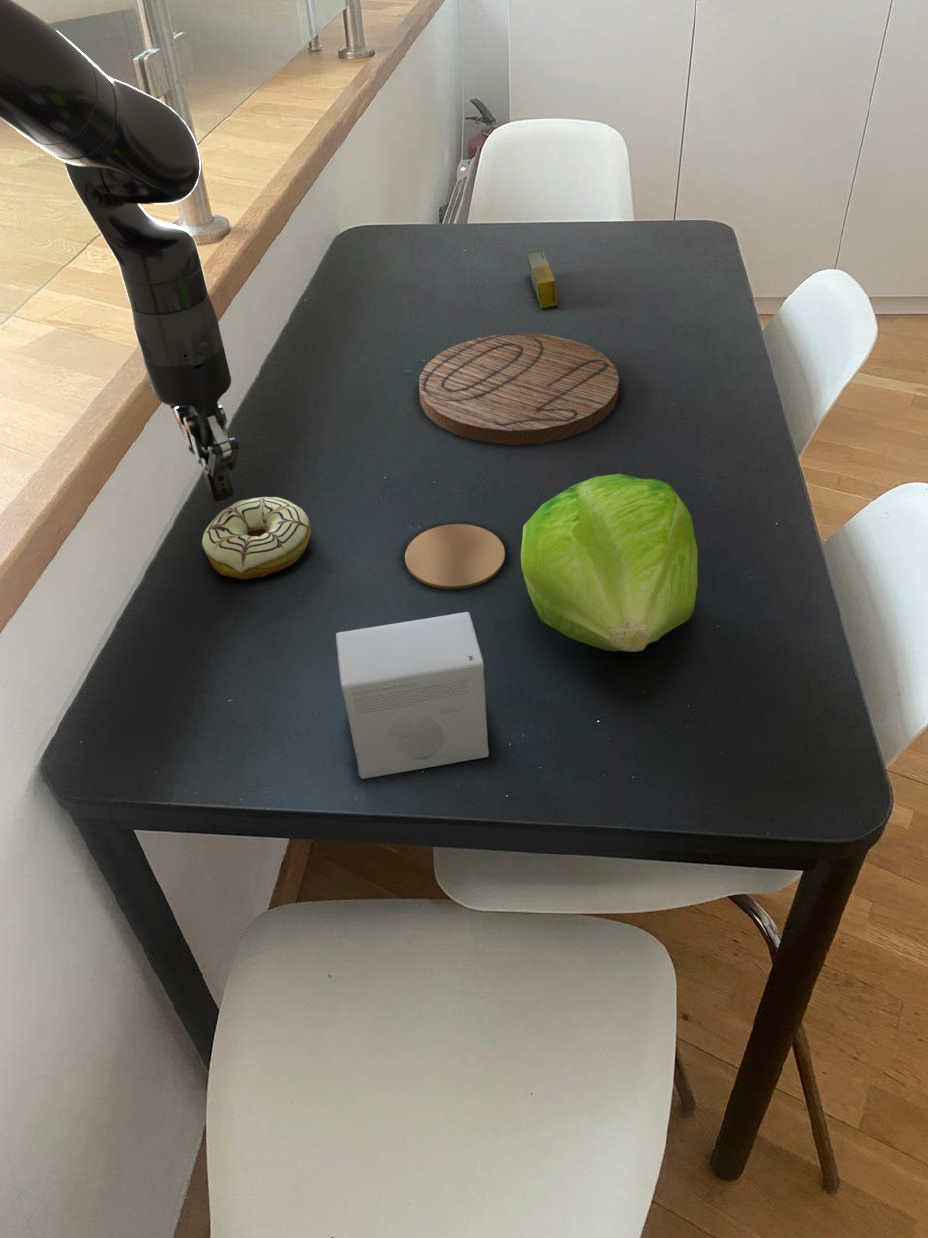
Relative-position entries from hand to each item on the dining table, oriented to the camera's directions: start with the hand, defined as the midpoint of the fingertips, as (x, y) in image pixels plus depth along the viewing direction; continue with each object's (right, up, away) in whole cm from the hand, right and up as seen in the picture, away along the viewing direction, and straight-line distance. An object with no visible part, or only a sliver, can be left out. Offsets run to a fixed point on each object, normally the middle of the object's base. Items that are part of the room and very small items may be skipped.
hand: (222, 496), depth 98 cm
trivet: (+33, +15, +18) cm, 40 cm away
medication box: (+38, +36, +40) cm, 65 cm away
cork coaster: (+25, -7, -6) cm, 27 cm away
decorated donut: (+5, -6, -4) cm, 9 cm away
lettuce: (+39, -14, -14) cm, 44 cm away
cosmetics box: (+22, -23, -23) cm, 40 cm away
